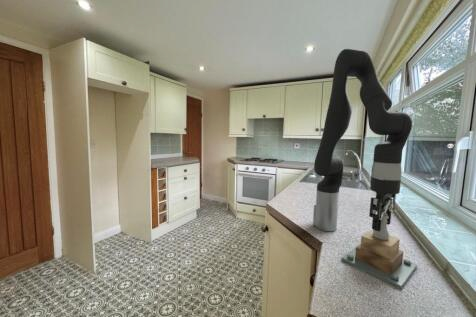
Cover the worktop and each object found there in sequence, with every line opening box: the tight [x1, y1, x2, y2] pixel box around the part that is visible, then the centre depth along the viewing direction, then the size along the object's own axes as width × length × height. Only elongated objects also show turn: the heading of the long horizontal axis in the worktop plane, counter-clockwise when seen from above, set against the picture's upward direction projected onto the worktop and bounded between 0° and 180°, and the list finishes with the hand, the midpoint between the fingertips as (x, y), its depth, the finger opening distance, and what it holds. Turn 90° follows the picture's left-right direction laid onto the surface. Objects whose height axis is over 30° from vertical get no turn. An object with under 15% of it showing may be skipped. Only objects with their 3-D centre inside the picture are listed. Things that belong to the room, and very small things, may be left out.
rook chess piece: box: [372, 213, 390, 240], centre depth 64 cm, size 4×4×8 cm
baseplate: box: [340, 247, 418, 290], centre depth 65 cm, size 16×16×2 cm
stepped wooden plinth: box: [355, 229, 404, 275], centre depth 65 cm, size 10×10×8 cm
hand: (381, 226), depth 64 cm, fingers open, 8 cm apart
